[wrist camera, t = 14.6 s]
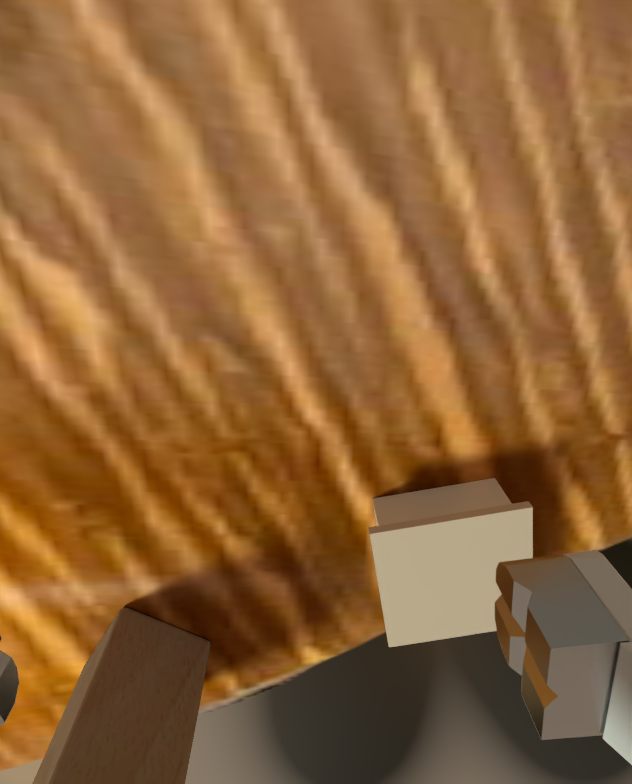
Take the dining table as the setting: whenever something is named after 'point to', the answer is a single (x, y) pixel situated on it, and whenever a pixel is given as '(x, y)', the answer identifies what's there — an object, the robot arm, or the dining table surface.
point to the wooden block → (131, 708)
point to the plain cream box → (445, 558)
